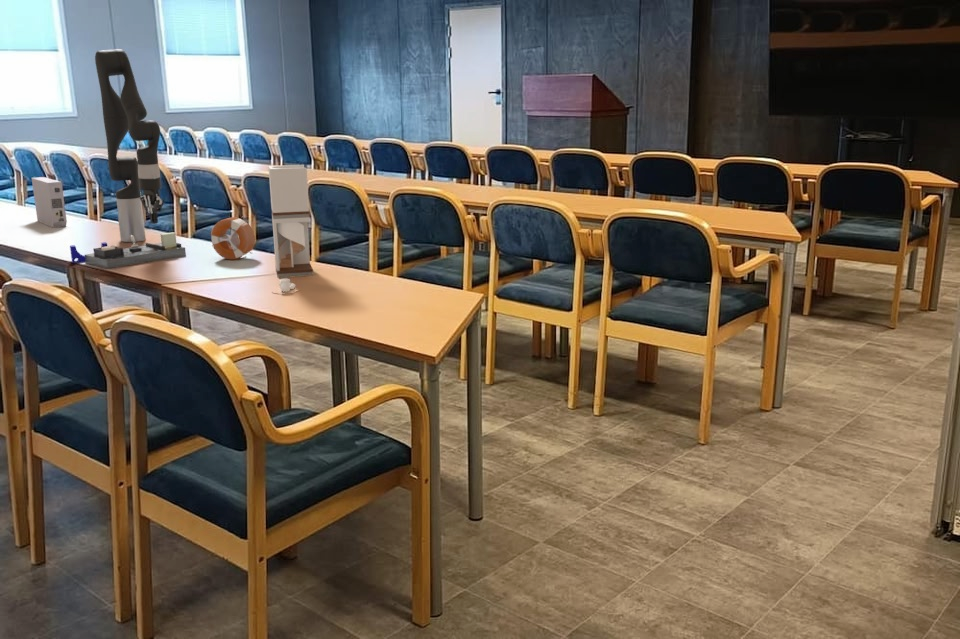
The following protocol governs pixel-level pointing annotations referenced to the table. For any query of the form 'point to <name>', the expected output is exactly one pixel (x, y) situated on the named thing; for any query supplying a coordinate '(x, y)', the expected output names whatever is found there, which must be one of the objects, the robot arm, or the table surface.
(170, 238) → the pale green eraser block
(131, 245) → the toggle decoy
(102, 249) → the button
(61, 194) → the game console
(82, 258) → the cable clip
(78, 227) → the table surface
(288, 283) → the teacup and saucer
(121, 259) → the panel
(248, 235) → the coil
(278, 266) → the spiral ramp tower
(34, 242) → the table surface
